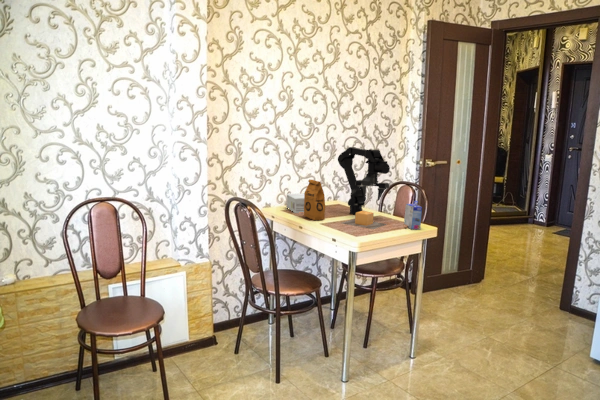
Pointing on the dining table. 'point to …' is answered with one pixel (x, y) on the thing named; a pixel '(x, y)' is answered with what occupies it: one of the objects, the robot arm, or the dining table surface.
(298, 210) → the supplement box
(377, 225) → the board
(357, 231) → the dining table surface
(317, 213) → the coffee package
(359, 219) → the tan orange cube
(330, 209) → the dining table surface
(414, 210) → the ink cartridge box
